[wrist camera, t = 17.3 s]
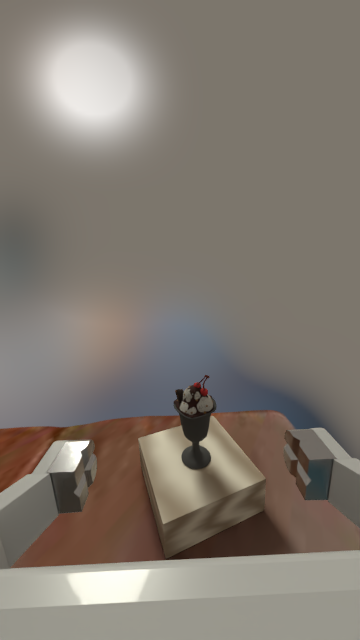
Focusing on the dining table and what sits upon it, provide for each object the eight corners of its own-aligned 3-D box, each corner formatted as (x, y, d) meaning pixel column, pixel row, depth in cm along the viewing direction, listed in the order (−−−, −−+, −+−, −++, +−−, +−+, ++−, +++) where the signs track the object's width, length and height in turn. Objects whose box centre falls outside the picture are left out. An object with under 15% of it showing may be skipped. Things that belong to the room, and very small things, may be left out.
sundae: (224, 462, 37) (225, 378, 34) (189, 481, 34) (186, 391, 31) (201, 437, 43) (200, 362, 40) (169, 451, 40) (165, 372, 36)
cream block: (165, 559, 30) (163, 524, 29) (140, 464, 45) (138, 438, 43) (264, 510, 36) (265, 478, 34) (213, 440, 50) (213, 416, 49)
